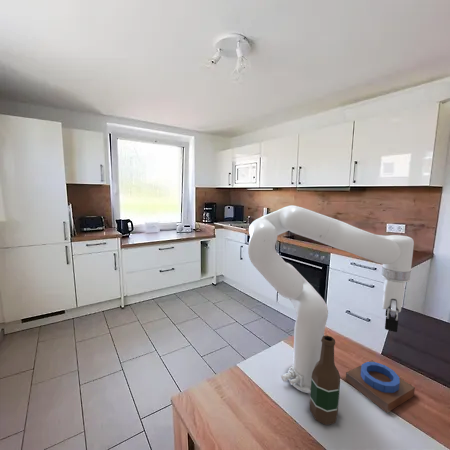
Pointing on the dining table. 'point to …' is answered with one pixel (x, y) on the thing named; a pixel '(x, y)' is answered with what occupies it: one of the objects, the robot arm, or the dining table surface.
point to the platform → (378, 397)
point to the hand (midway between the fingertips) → (390, 323)
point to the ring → (377, 384)
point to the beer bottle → (325, 385)
